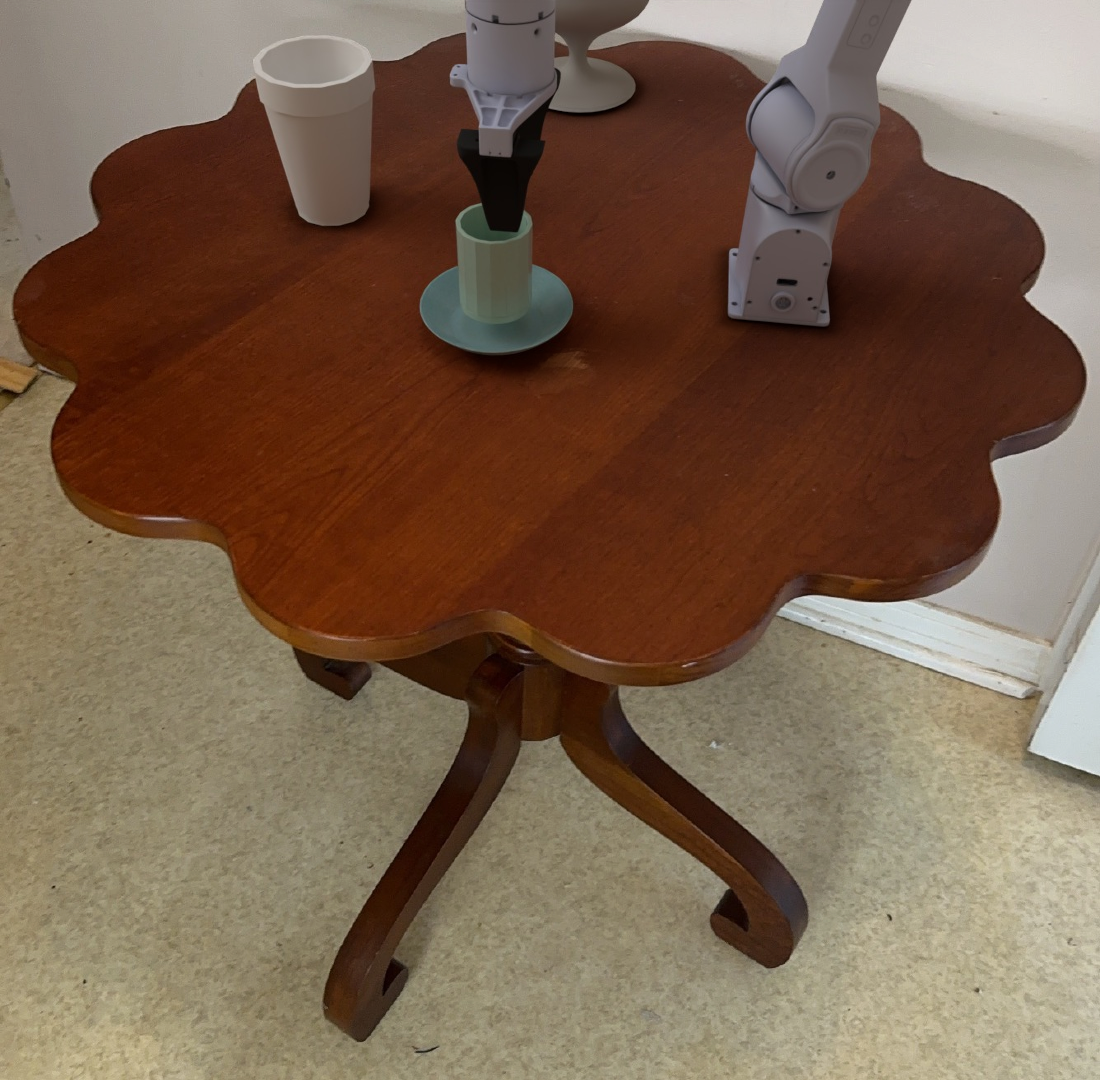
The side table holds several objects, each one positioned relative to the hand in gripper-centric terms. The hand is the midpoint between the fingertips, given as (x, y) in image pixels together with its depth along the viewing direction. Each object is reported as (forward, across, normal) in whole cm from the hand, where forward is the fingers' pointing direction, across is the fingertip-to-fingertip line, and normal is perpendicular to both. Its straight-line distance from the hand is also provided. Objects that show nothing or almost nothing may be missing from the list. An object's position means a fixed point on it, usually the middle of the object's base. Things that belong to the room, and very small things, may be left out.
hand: (512, 200), depth 79 cm
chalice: (+11, -40, +1) cm, 41 cm away
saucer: (+10, +1, -1) cm, 11 cm away
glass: (+8, +2, -1) cm, 8 cm away
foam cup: (+10, -14, -18) cm, 25 cm away
